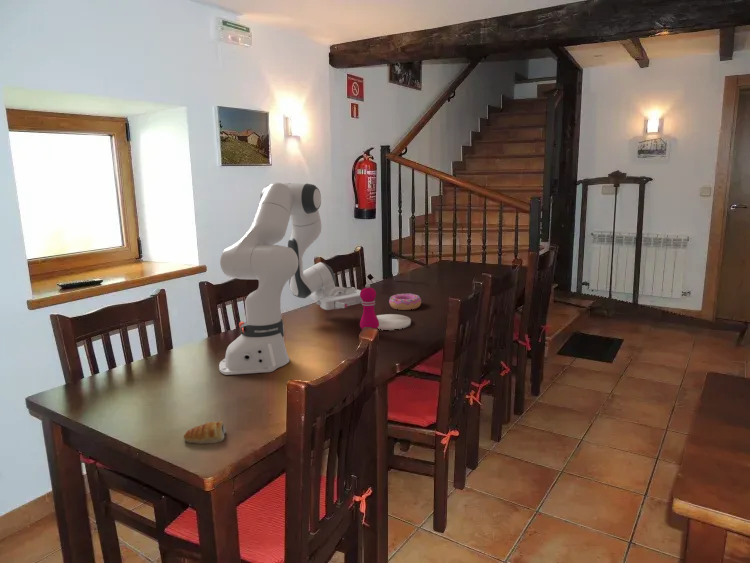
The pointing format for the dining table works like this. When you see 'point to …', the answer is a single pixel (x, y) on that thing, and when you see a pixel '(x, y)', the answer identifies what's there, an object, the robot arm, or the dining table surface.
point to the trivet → (393, 321)
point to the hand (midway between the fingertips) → (355, 303)
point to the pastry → (206, 433)
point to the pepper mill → (368, 308)
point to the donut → (405, 301)
